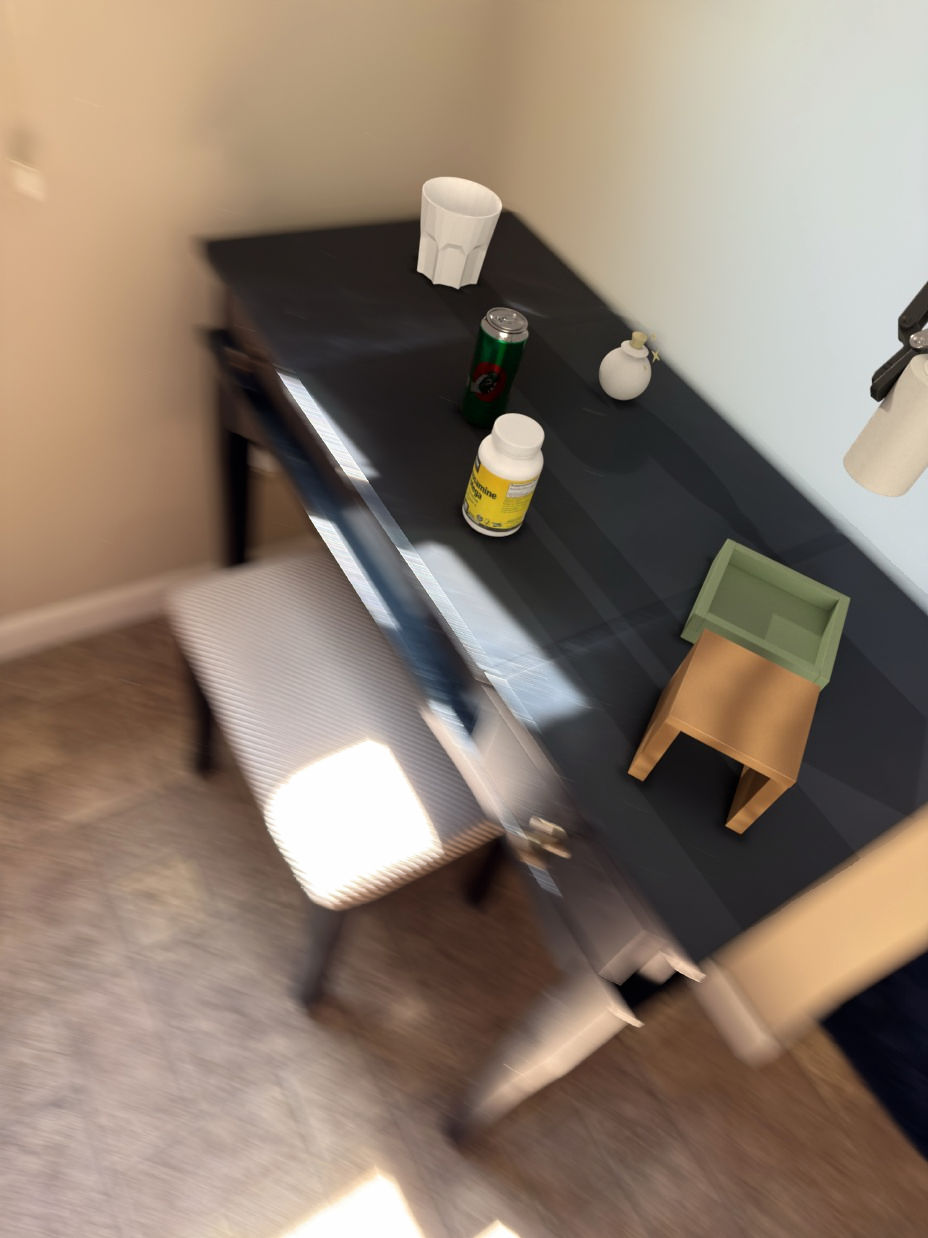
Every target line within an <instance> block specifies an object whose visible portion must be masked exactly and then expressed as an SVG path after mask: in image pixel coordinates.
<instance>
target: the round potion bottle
mask: <svg viewBox="0 0 928 1238" xmlns="http://www.w3.org/2000/svg"><path fill="white" fill-rule="evenodd" d="M650 336H651V339H650V340H651V341H650V342H651V343H652V342H653V340H655V341H657V338H656V337H655V336H656V332H654V333H653V334H652V333H651V332H650ZM648 339H649V337H648V335H646V334H645V333H644V332H641V331H633V332H632V335H631V340H624V341H622V343H620V344H621V345H620V347H617V348H614V349H613V350H611V351H610V352H609V353H607V354H606V356H604V358H603V359H602V361H601V363H600V366H599V369H598V380H599V383H600V386H601V388H602V390H603V391H604V392H605V393H606V394H607V395H608V396H609V397H610V398H613V399H615V400H620V401H628V400H633V399H635V398H637V397H638V396H640V395H641V394H642V393H643V392H644V391H645V390H646V389H647V388H648V386H649V384H650V381H651V378H652V366H651V363H650V360H649V358H648V356H649V353H650V352H649V350H648V347H646V346H645V343H646V342H647V341H648ZM651 352H652V354H653V360H652V363H654V362H655V360H658V361H660V358H659V356H658V354H659V348H658V349H657V350H656V351H655V352H654V351H653V350H651Z"/></svg>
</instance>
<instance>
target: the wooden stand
mask: <svg viewBox="0 0 928 1238" xmlns="http://www.w3.org/2000/svg"><path fill="white" fill-rule="evenodd" d="M820 688H821V687H820V686H818V685H816V684H814V683H812V682H810V681H808V680H806V679H804V678H802V677H800V676H798V675H797V674H795V673H793V672H791V671H789V670H787V669H785V668H783V667H781V666H779V665H777V664H775V663H773V662H771V661H769V660H767V659H765V658H763V657H761V656H759V655H757V654H755V653H753V652H751V651H749V650H747V649H745V648H743V647H741V646H739V645H737V644H735V643H733V642H731V641H729V640H727V639H725V638H724V637H722V636H720V635H718V634H716V633H714V632H712V631H710V630H708V629H706V628H705V629H704V630H703V632H702V633H701V635H700V637H699V638H698V640H697V641H696V643H695V644H693V646H692V647H691V649H690V650H689V651H688V653H687V654H686V656H685V658H684V659H683V660H682V662H681V663H680V665H679V666H678V668H677V669H676V671H675V673H674V674H673V675H672V677H671V679H670V680H669V681H668V683H667V685H665V687H664V689H663V690H662V692H661V695H660V696H659V699H658V701H657V704H656V706H655V708H654V711H653V713H652V714H651V715H652V716H651V717H650V720H649V722H648V725H647V727H646V729H645V731H644V734H643V736H642V738H641V741H640V743H639V745H638V748H637V750H636V752H635V755H634V757H633V760H632V762H631V764H630V766H629V769H628V770H627V774H628V775H630V776H632V777H634V778H636V779H638V780H640V781H641V782H644V781H645V780H646V778H647V777H648V776H649V774H650V773H651V771H652V770H653V769H654V767H655V766H656V765H657V763H658V762H659V761H660V760H661V758H662V757H663V755H664V754H665V753H666V751H667V750H668V748H670V746H671V745H672V744H673V742H674V741H675V740H676V738H677V736H678V735H679V734H680V733H681V732H682V733H684V734H686V735H688V736H690V737H692V738H694V739H695V740H697V741H700V742H701V743H703V744H705V745H707V746H709V747H711V748H713V749H715V750H717V751H719V752H720V753H722V754H724V755H726V756H728V757H730V758H731V759H734V760H735V761H737V762H739V763H741V764H743V768H742V770H741V775H740V778H739V781H738V783H737V787H736V790H735V793H734V797H733V800H732V803H731V806H730V809H729V812H728V816H727V818H726V822H725V824H724V825H725V827H726V828H727V829H728V828H729V829H730V830H732V831H734V832H735V833H737V834H740V835H743V833H744V832H745V831H746V830H747V829H748V828H749V827H750V826H752V825H753V824H754V822H755V821H756V820H758V818H759V817H760V816H762V814H764V812H765V811H766V810H768V809H769V807H771V806H772V805H773V804H774V802H776V801H777V800H778V799H779V798H780V797H781V796H782V795H783V794H784V793H785V792H786V791H787V790H788V789H790V788H791V787H792V786H793V785H794V784H796V783H797V780H798V776H799V773H800V769H801V764H802V761H803V757H804V753H805V749H806V745H807V742H808V739H809V735H810V730H811V726H812V722H813V719H814V716H815V711H816V707H817V704H818V699H819V696H820V693H821V691H820Z"/></svg>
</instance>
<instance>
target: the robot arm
mask: <svg viewBox="0 0 928 1238" xmlns="http://www.w3.org/2000/svg"><path fill="white" fill-rule="evenodd" d="M927 324H928V280H926V282H925V283H924V284H923V286H922V287H921V289H920V290H919V291H918V292H917V293H916V295H915V296H914V297H913V298H912V300H911V301H910V302H909V303H908V305H907V306H906V307H905V308H904V310H903V311H902V312H901V314H900V315H899V316H898V318H897V339H898V341H899V343H901V344H902V347H901V348H900V349H899V350H898V351H896V352H895V353H894V354H893V355H891V357H890V358H889V359H887V360H886V362H884V363H883V364H882V365H880V366H879V367H878V368H877V369H876V370H875V371H874V373H873V374H872V376H871V385H870V387H869V394H870V397H871V398H872V399H873V400H874V401H875V402H877V403H880V402H882V401H883V400H884V398H885V397H886V396H887V394H888V393H889V391H890V390H891V388H892V387H893V386H894V384H895V383H896V381H897V380H898V378H899V377H900V376H901V374H902V373H903V371H904V370H905V368H906V367H907V366H908V364H909V363H910V361H911V360H912V359H913V357H915V356H917V355H920V354H928V327H927V328H925V327H926V325H927Z"/></svg>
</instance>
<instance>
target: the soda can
mask: <svg viewBox="0 0 928 1238" xmlns="http://www.w3.org/2000/svg"><path fill="white" fill-rule="evenodd" d="M528 327H529V322H528V320H527V318H526V317H525V316H524V315H523V314H522V313H520V312H518V311H517V310H514V309H511V308H508V307H493V308H491V309H489V310H488V311H487V312H486V315H485V316H484V317H483V318H482V319H481V321H480V324H479V327H478V332H477V336H476V340H475V344H474V347H473V351H472V356H471V360H470V364H469V367H468V372H467V376H466V379H465V380H466V381H465V384H464V387H463V392H462V397H461V401H460V404H459V407H460V408H459V409H460V413H462V415H463V417H464V418H465V419H466V420H467V421H468V422H469V423H470V424H473V425H475V426H479V427H483V428H490V427H494V424H495V421H496V420H497V419H498V418H499V417H500V416H502V415H505V414H507V410H508V406H509V403H510V400H511V396H512V393H513V389H514V386H515V383H516V380H517V377H518V373H519V369H520V366H521V363H522V359H523V356H524V353H525V350H526V346H527V343H528V339H529V336H530V332H529V329H528Z"/></svg>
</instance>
